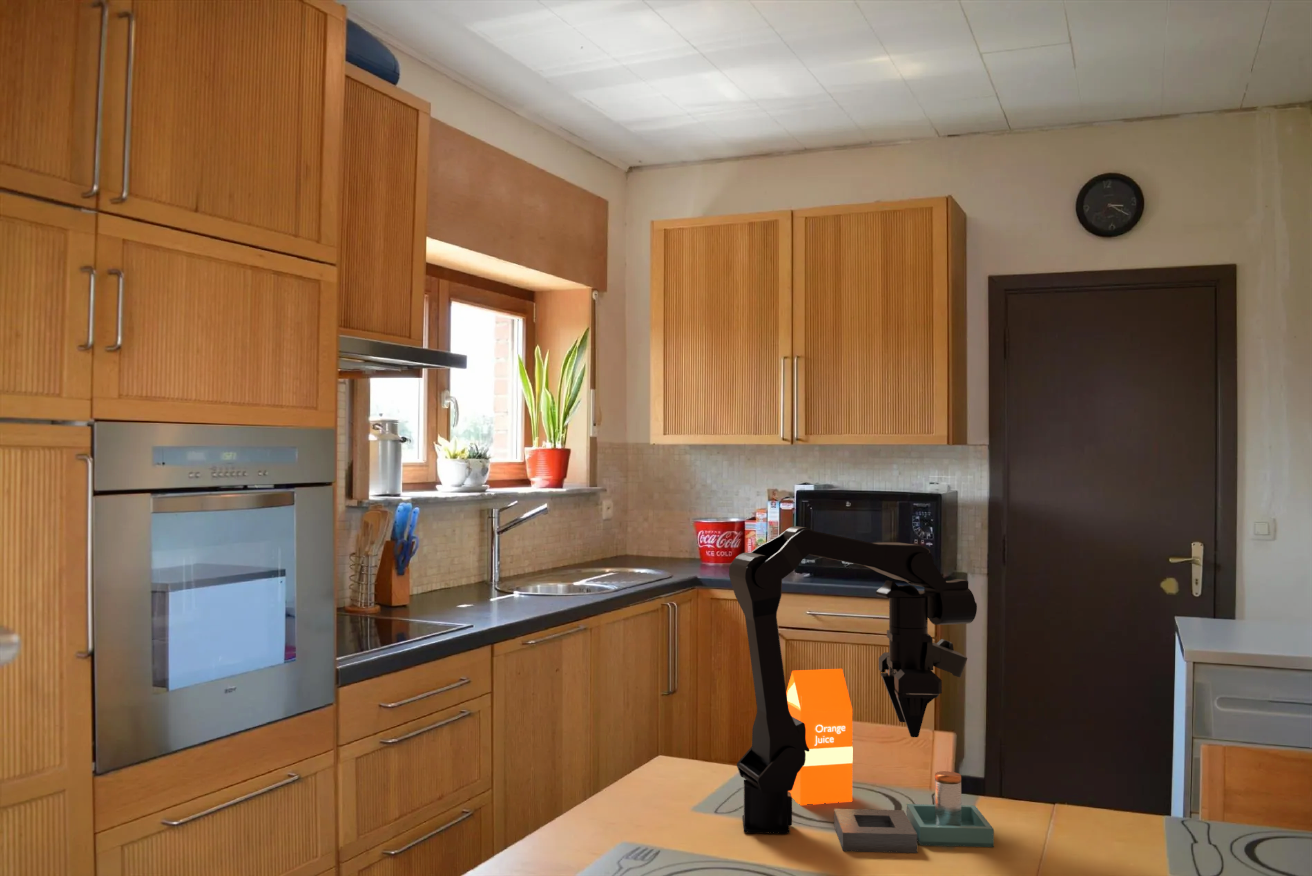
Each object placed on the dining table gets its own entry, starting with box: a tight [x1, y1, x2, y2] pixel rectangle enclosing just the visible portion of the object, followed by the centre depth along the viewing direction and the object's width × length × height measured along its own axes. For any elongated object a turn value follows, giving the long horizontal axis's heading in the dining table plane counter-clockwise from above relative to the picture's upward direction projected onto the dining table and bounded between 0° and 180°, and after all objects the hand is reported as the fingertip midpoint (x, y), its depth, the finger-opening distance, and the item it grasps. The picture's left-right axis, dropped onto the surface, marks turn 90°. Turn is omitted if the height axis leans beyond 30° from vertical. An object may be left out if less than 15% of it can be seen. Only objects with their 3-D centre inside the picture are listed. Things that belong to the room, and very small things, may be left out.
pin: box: [934, 770, 962, 826], centre depth 149 cm, size 4×4×8 cm
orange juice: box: [786, 668, 854, 806], centre depth 166 cm, size 8×9×20 cm
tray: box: [906, 803, 995, 848], centre depth 149 cm, size 10×10×2 cm
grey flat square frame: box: [833, 808, 918, 854], centre depth 147 cm, size 10×10×2 cm
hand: (908, 729), depth 158 cm, fingers open, 9 cm apart
